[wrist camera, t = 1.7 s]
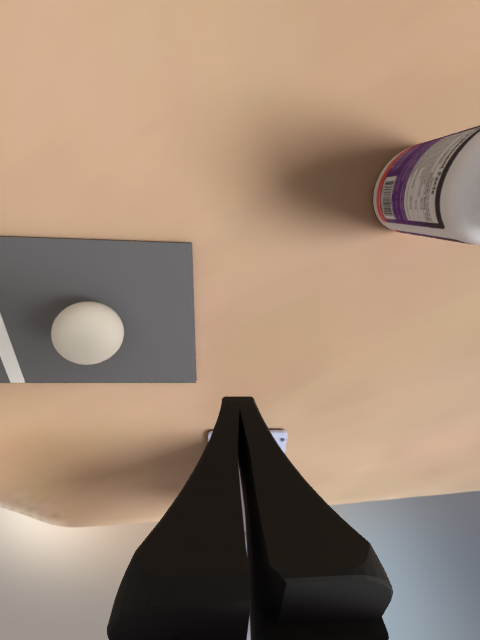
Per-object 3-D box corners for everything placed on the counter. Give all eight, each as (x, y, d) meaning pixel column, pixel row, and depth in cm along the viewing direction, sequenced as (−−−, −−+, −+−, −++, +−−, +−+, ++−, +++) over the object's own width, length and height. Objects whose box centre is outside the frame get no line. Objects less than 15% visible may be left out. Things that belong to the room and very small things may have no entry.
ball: (135, 344, 21) (114, 377, 17) (79, 344, 21) (45, 377, 17) (128, 293, 20) (103, 317, 16) (67, 292, 19) (25, 316, 15)
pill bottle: (465, 175, 18) (700, 150, 9) (408, 245, 20) (558, 281, 11) (410, 125, 17) (625, 37, 8) (354, 205, 18) (476, 208, 9)
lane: (196, 379, 24) (195, 382, 23) (-105, 379, 22) (-110, 382, 22) (192, 242, 19) (191, 243, 18) (-196, 228, 17) (-206, 229, 17)
